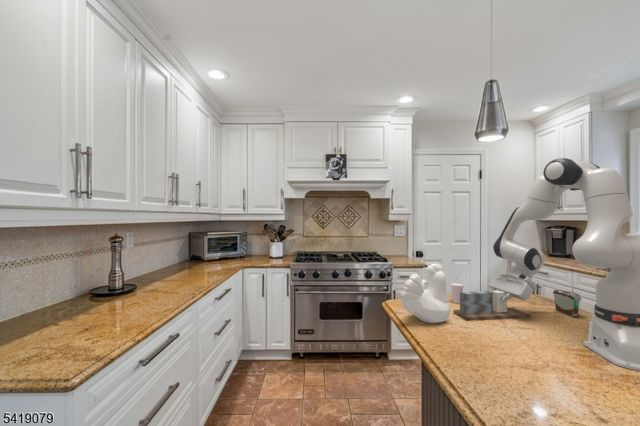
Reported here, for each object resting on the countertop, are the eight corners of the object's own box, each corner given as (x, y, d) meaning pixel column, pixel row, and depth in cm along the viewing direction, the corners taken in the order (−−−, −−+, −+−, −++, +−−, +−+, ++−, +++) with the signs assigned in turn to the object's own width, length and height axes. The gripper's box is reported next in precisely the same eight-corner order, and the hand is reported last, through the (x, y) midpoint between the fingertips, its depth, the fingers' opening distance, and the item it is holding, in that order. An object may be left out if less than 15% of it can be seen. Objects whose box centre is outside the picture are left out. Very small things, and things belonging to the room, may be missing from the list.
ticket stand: (513, 310, 136) (512, 288, 137) (530, 317, 126) (530, 293, 127) (453, 313, 133) (453, 290, 133) (466, 320, 123) (466, 295, 123)
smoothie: (460, 300, 152) (460, 275, 152) (465, 304, 146) (465, 277, 146) (448, 300, 153) (448, 274, 153) (453, 304, 146) (452, 277, 147)
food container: (589, 319, 125) (589, 296, 125) (575, 318, 125) (575, 296, 125) (565, 309, 137) (565, 289, 138) (553, 309, 138) (552, 289, 138)
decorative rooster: (435, 312, 134) (434, 260, 135) (459, 324, 119) (458, 265, 120) (388, 316, 128) (387, 262, 128) (407, 330, 113) (407, 268, 113)
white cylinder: (502, 309, 132) (501, 290, 132) (507, 312, 129) (506, 292, 129) (492, 310, 131) (492, 291, 131) (497, 312, 128) (496, 292, 128)
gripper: (496, 269, 142) (478, 289, 140) (531, 278, 121) (511, 301, 120) (504, 278, 142) (486, 298, 141) (540, 288, 122) (520, 311, 120)
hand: (498, 299), depth 130 cm, fingers closed on white cylinder, 3 cm apart
